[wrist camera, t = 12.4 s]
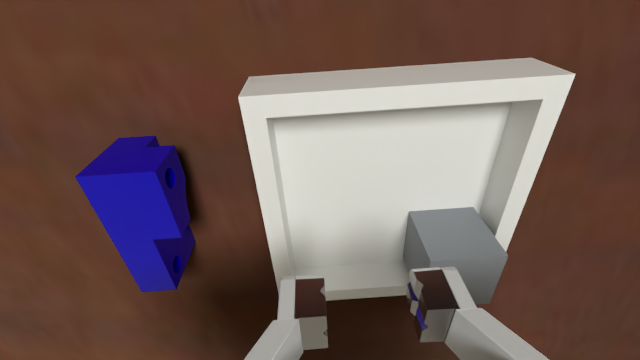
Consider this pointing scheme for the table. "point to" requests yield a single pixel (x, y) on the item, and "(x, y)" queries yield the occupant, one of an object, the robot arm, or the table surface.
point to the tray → (392, 159)
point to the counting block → (456, 248)
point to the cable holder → (143, 208)
